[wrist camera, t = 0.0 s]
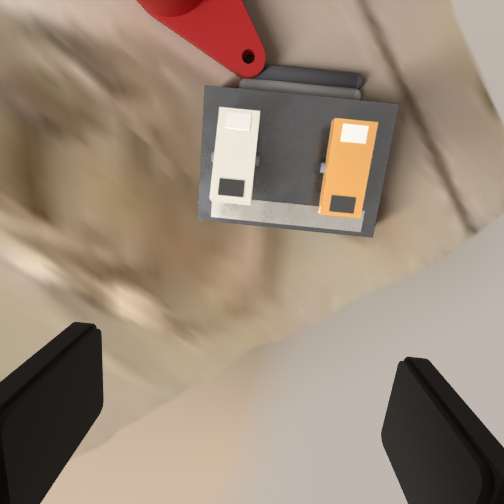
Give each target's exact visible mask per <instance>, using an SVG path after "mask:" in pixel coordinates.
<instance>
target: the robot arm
mask: <svg viewBox="0 0 504 504" xmlns="http://www.w3.org/2000/svg"><path fill="white" fill-rule="evenodd" d="M102 407H103V370H102V338H101V331H100V329H97V328H96V325H95V324H91V323H81V322H74V323H72V324H71V325H70V326H69V327H67V328H66V329H65V330H64V331H62V332H61V333H60V334H59V335H57V336H56V337H55V338H54V339H53V340H51V341H50V342H49V343H48V344H46V345H45V346H44V347H43V348H42V349H40V350H39V351H38V352H37V353H35V354H34V355H33V356H32V357H30V358H29V359H28V360H27V361H26V362H24V363H23V364H22V365H21V366H19V367H18V368H17V369H16V370H14V371H13V372H12V373H11V374H10V375H8V376H7V377H6V378H5V379H3V380H2V381H1V382H0V504H40V503H41V501H42V500H43V498H44V497H45V495H46V494H47V492H48V491H49V489H50V488H51V486H52V485H53V483H54V482H55V480H56V479H57V477H58V476H59V474H60V473H61V471H62V470H63V468H64V467H65V465H66V464H67V462H68V461H69V459H70V458H71V456H72V455H73V453H74V452H75V450H76V449H77V447H78V446H79V444H80V443H81V441H82V440H83V438H84V437H85V435H86V434H87V432H88V431H89V429H90V428H91V426H92V425H93V423H94V422H95V420H96V419H97V417H98V416H99V414H100V412H101V410H102ZM381 437H382V443H383V446H384V448H385V451H386V453H387V455H388V457H389V460H390V462H391V465H392V467H393V469H394V471H395V474H396V476H397V478H398V481H399V483H400V486H401V488H402V490H403V493H404V495H405V497H406V500H407V502H408V504H504V448H503V446H502V445H501V444H500V443H499V442H498V441H497V439H496V438H495V437H494V436H493V435H492V434H491V432H490V431H489V430H488V429H487V428H486V427H485V425H484V424H483V423H482V422H481V421H480V419H479V418H478V417H477V416H476V415H475V414H474V412H473V411H472V410H471V409H470V408H469V407H468V405H466V403H465V402H464V401H463V400H462V398H461V397H460V396H459V395H458V394H457V393H456V392H455V390H454V389H453V388H452V387H451V386H450V384H449V383H448V382H447V381H446V380H445V379H444V377H443V376H442V375H441V374H440V373H439V372H438V370H437V369H436V368H435V367H434V366H433V365H432V363H431V362H430V361H429V360H428V359H423V358H414V357H406V358H405V359H404V361H400V362H399V364H398V368H397V371H396V375H395V379H394V383H393V387H392V391H391V395H390V399H389V403H388V407H387V412H386V416H385V420H384V424H383V428H382V432H381Z"/></svg>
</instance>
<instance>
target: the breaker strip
mask: <svg viewBox="0 0 504 504" xmlns="http://www.w3.org/2000/svg"><path fill="white" fill-rule="evenodd" d="M219 107H227V108H237V109H247V110H257V111H260V123H259V133H258V142H257V152H256V156H260V162H259V167H258V166H255V171H254V181H253V191H252V200H251V206H250V205H240V204H230V203H220V202H211V200H210V199H209V195H210V186H211V177H212V168H213V162H211V154H212V152H214V150H215V141H216V132H217V123H218V114H219ZM398 108H399V104H393V103H383V102H373V101H362V100H352V99H342V98H331V97H321V96H311V95H300V94H290V93H280V92H269V91H259V90H249V89H239V88H228V87H218V86H208V85H205V89H204V109H203V128H202V147H201V166H200V186H199V205H198V220H205V221H214V222H224V223H234V224H244V225H254V226H264V227H274V228H284V229H293V230H303V231H313V232H323V233H333V234H343V235H353V236H362V237H372V238H373V233H374V228H375V223H376V218H377V213H378V208H379V203H380V198H381V193H382V188H383V183H384V178H385V173H386V168H387V163H388V158H389V153H390V148H391V143H392V138H393V133H394V128H395V123H396V118H397V113H398ZM334 118H341V119H352V120H362V121H372V122H378V127H377V132H376V138H375V143H374V149H373V154H372V159H371V165H370V175H369V177H368V181H367V186H366V191H365V197H364V202H363V208H362V213H361V218H351V217H341V216H331V215H321V214H319V213H318V208H319V201H320V195H321V188H322V181H323V175H324V173H320V165H321V163H325V161H326V155H327V148H328V141H329V135H330V128H331V121H332V120H333V119H334Z"/></svg>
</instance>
